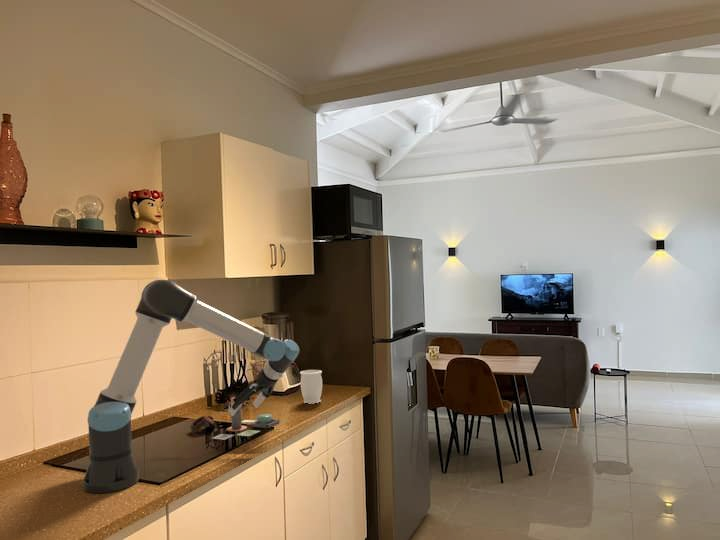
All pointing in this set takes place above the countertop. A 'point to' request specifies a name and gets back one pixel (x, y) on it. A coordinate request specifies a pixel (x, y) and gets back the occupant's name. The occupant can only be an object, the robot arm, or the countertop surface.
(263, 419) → the button
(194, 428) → the dark brown rock
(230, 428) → the colouring board
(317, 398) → the jar
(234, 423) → the marker
